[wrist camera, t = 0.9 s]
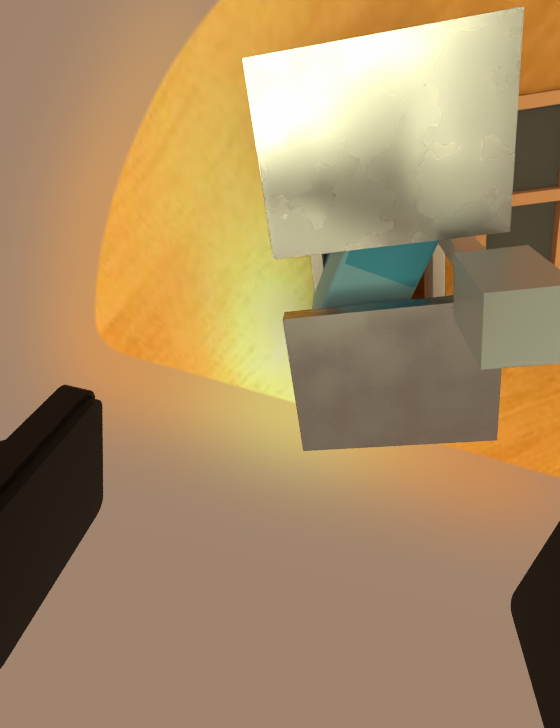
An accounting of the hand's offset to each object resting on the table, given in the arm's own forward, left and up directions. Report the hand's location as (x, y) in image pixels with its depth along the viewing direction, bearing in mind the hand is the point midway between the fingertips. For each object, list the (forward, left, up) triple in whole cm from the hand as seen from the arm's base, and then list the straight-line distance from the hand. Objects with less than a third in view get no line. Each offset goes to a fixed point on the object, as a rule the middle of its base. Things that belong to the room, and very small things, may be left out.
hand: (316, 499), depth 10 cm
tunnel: (-3, +1, -31) cm, 31 cm away
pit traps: (-13, +1, -31) cm, 34 cm away
